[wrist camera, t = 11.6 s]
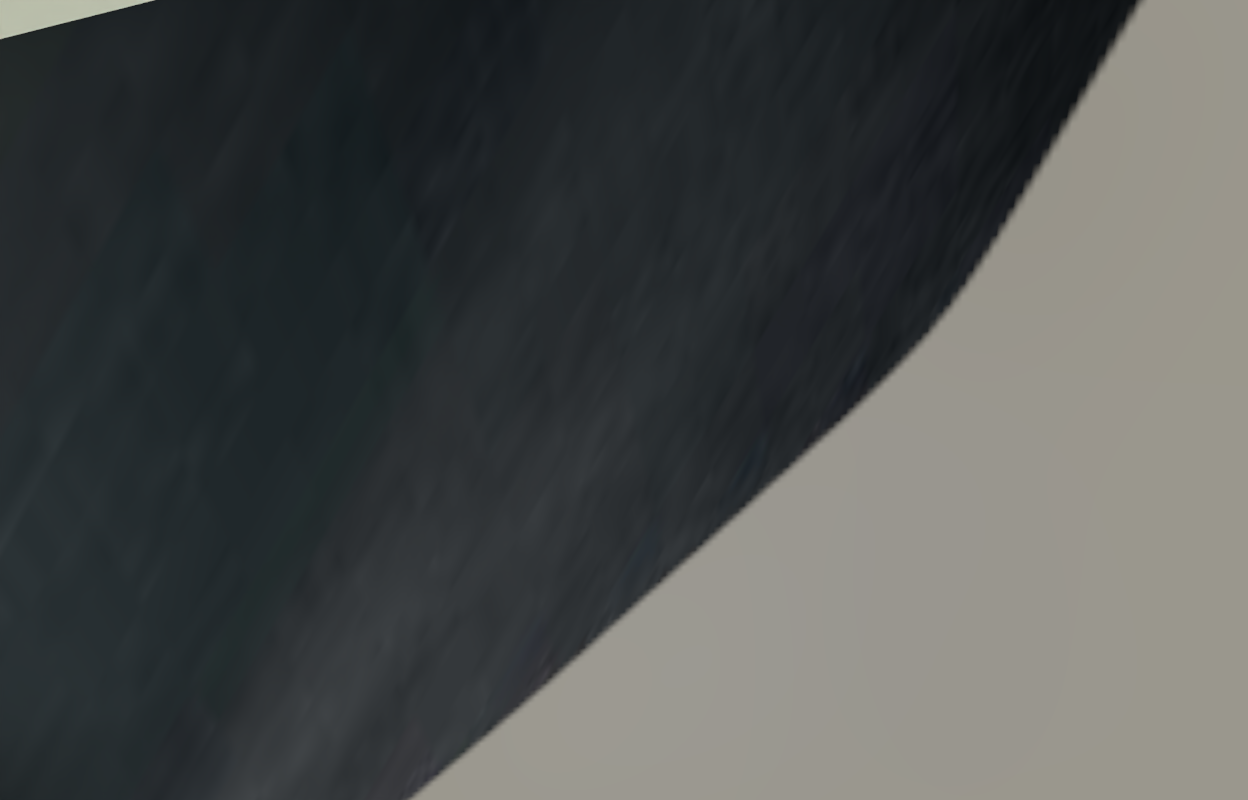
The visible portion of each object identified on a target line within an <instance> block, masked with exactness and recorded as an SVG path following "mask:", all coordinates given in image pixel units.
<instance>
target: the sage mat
mask: <svg viewBox="0 0 1248 800" xmlns="http://www.w3.org/2000/svg"><path fill="white" fill-rule="evenodd" d="M149 1H153V0H0V39H2V38H6V37H10V36H14V35H18V34H22V33H26V32H30V31H34V30H38V29H42V28H46V27H50V26H54V25H58V24H62V23H66V22H69V21H73V20H77V19H81V18H85V17H89V16H93V15H97V14H101V13H105V12H109V11H113V10H117V9H121V8H125V7H129V6H133V5H137V4H141V3H145V2H149Z"/></svg>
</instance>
